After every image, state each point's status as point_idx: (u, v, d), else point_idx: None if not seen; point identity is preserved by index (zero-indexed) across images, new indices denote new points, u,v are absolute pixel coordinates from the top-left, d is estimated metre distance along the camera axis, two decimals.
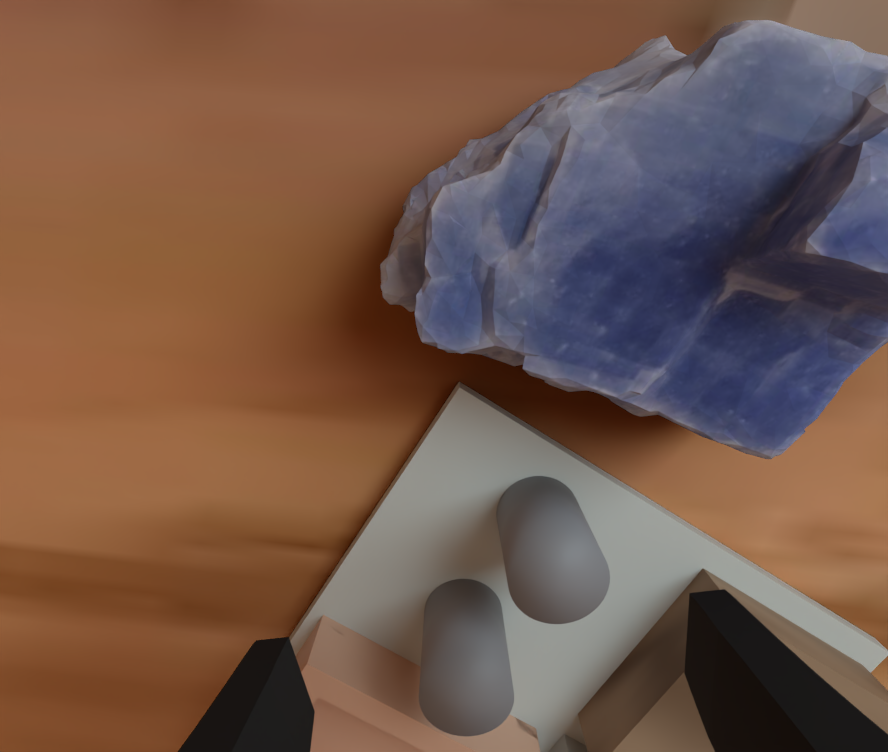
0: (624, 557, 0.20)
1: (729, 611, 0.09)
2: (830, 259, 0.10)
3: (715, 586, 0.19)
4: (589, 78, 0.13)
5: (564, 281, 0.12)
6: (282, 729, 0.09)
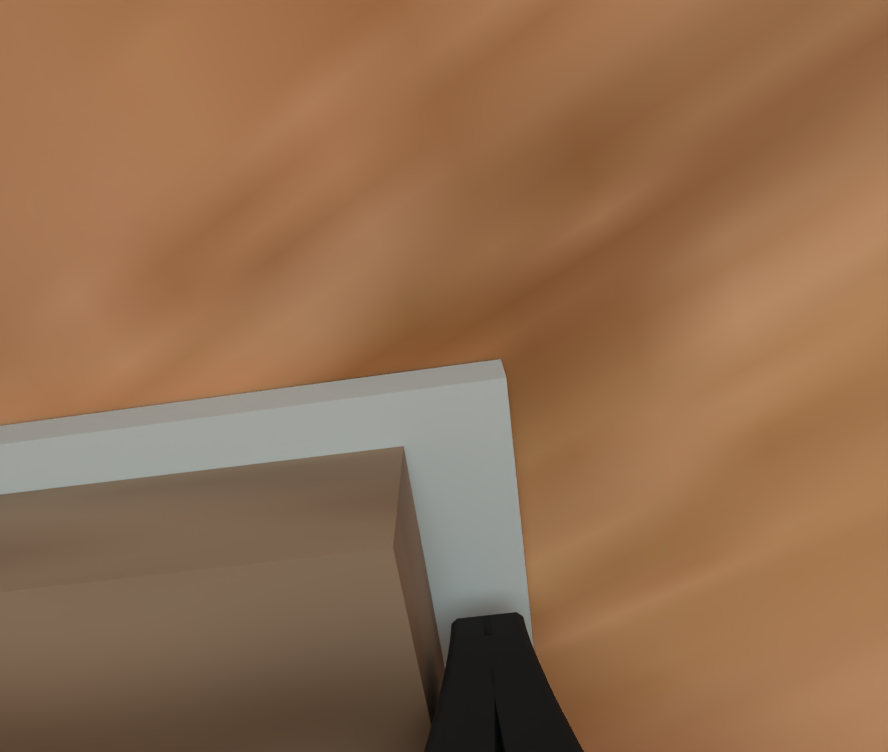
0: None
1: (506, 635, 0.09)
2: None
3: None
4: None
5: None
6: None
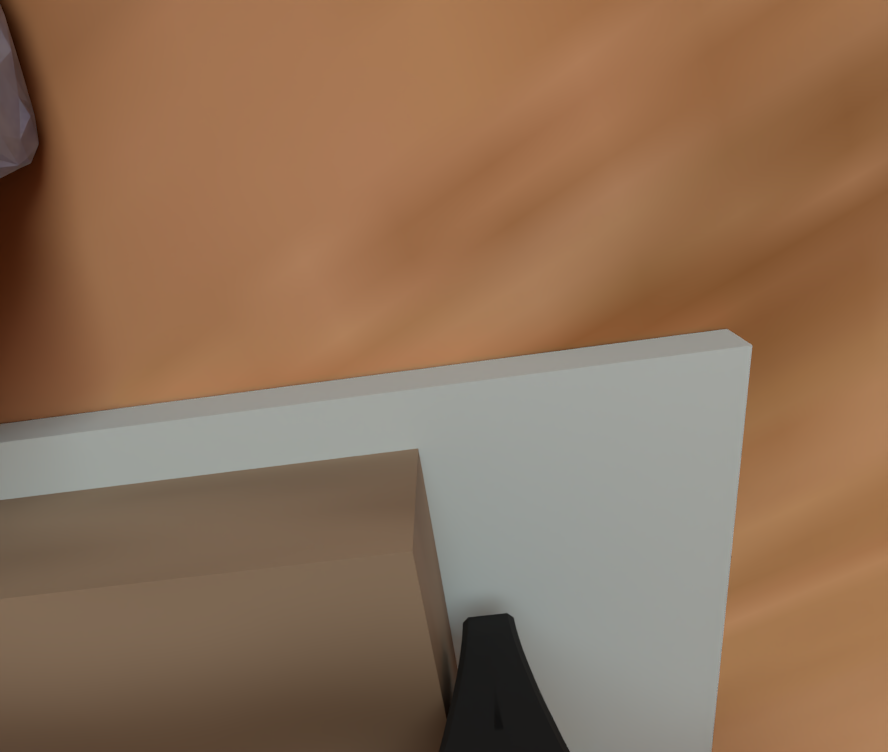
0: None
1: (496, 636, 0.09)
2: None
3: None
4: None
5: None
6: None
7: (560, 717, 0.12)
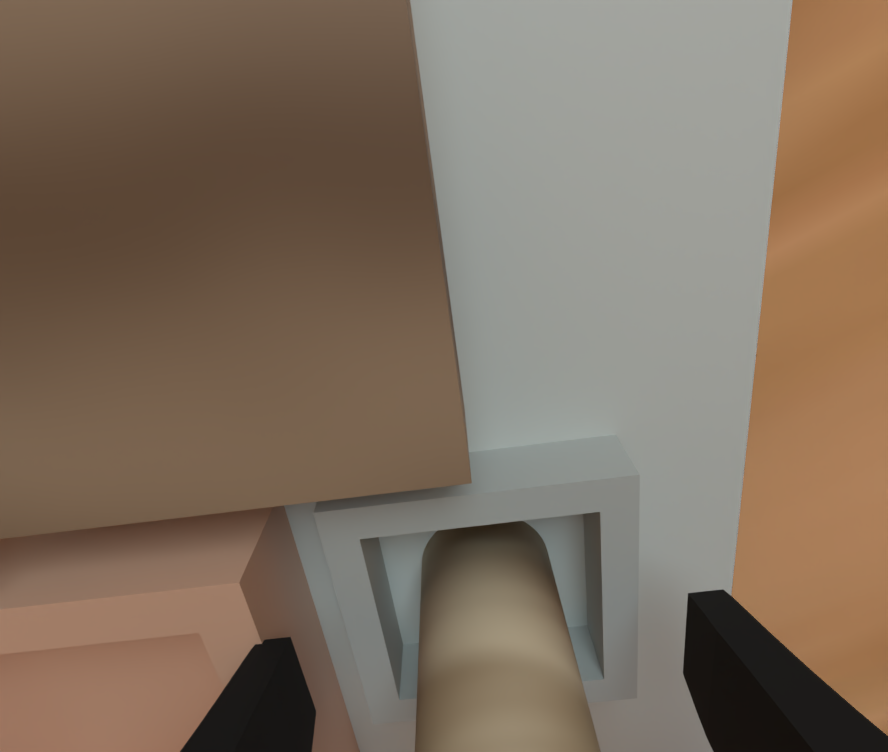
0: None
1: (727, 611, 0.09)
2: None
3: None
4: None
5: None
6: (284, 729, 0.09)
7: (570, 362, 0.10)
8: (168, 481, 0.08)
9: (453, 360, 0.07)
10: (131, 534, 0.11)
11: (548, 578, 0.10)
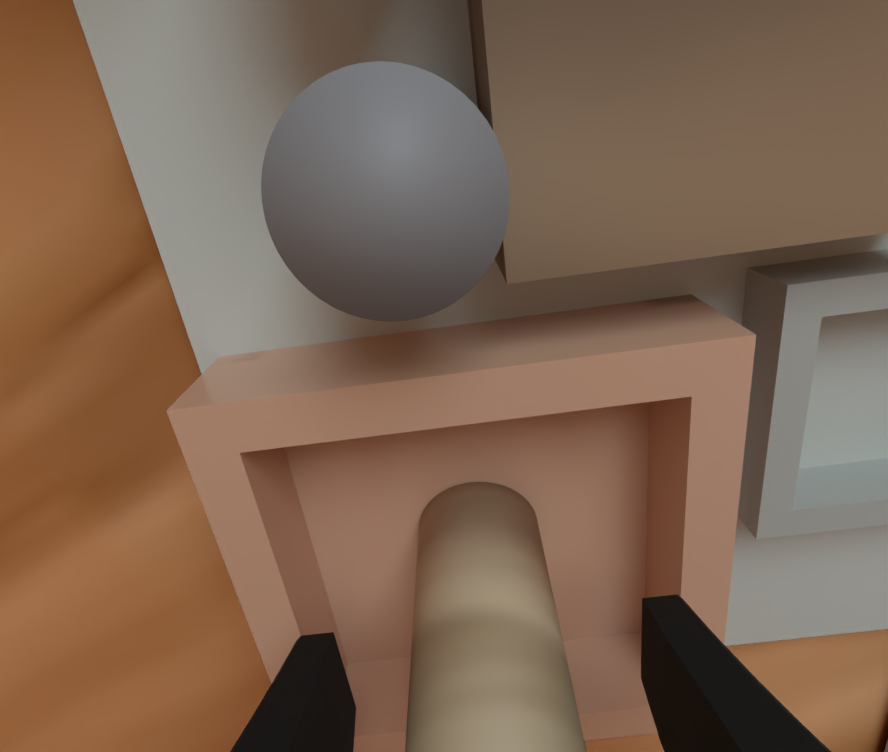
0: None
1: (678, 617, 0.09)
2: None
3: None
4: None
5: None
6: (330, 724, 0.09)
7: None
8: (737, 209, 0.08)
9: None
10: (568, 324, 0.11)
11: (536, 544, 0.11)
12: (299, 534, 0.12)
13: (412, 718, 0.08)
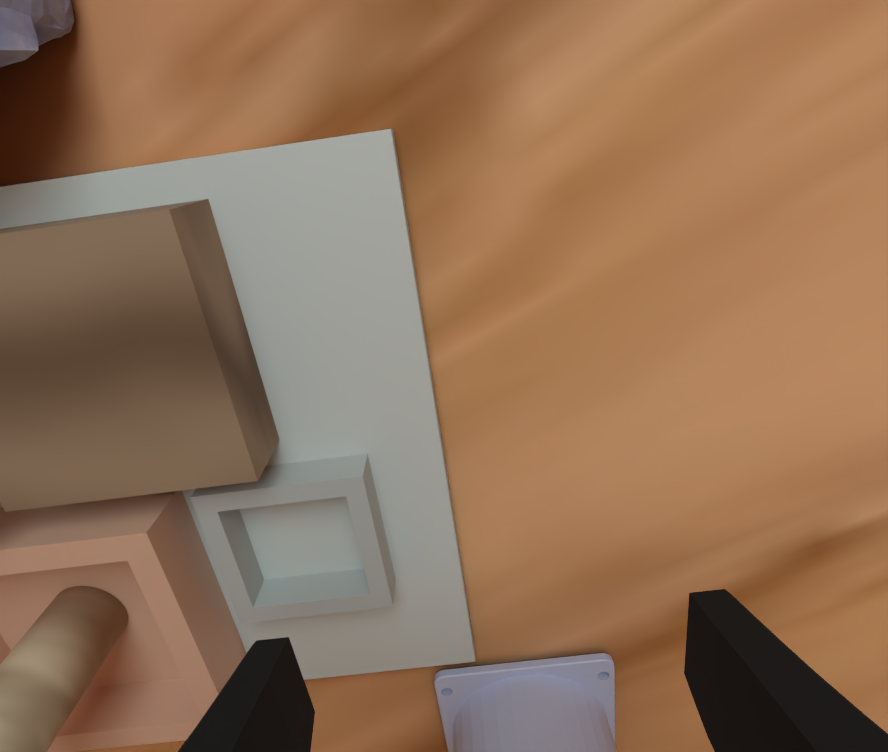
0: None
1: (729, 611, 0.09)
2: None
3: None
4: None
5: None
6: (282, 729, 0.09)
7: (334, 414, 0.18)
8: (106, 480, 0.16)
9: (238, 423, 0.16)
10: (93, 509, 0.19)
11: (91, 625, 0.20)
12: None
13: None
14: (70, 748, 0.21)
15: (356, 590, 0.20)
